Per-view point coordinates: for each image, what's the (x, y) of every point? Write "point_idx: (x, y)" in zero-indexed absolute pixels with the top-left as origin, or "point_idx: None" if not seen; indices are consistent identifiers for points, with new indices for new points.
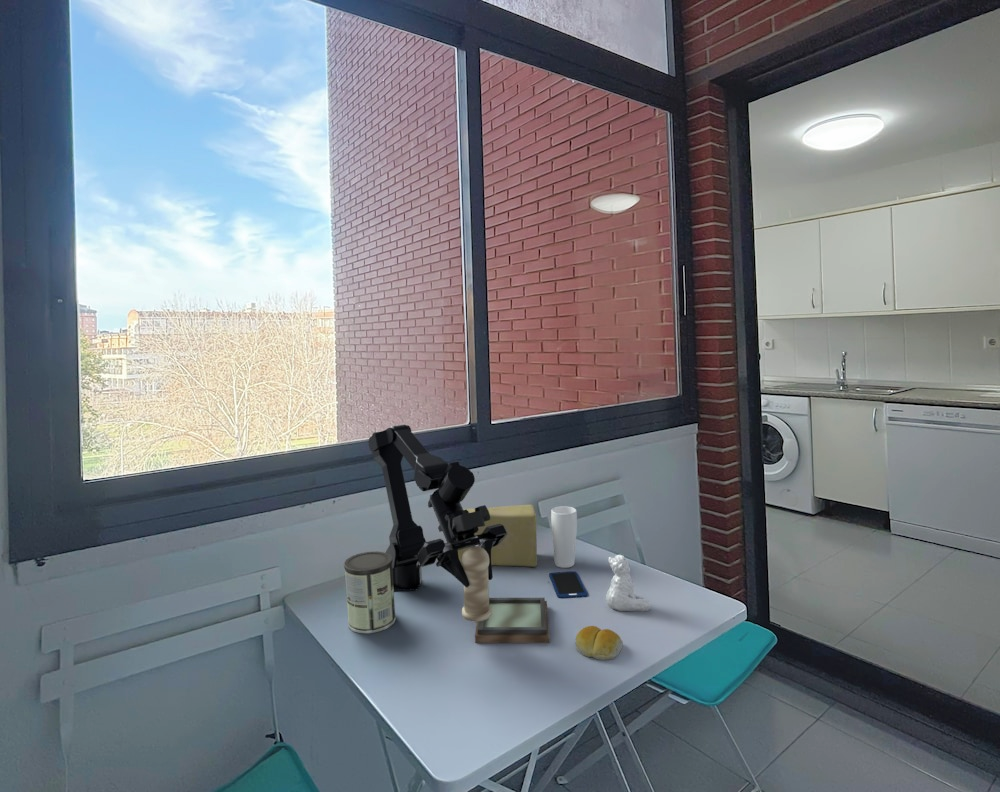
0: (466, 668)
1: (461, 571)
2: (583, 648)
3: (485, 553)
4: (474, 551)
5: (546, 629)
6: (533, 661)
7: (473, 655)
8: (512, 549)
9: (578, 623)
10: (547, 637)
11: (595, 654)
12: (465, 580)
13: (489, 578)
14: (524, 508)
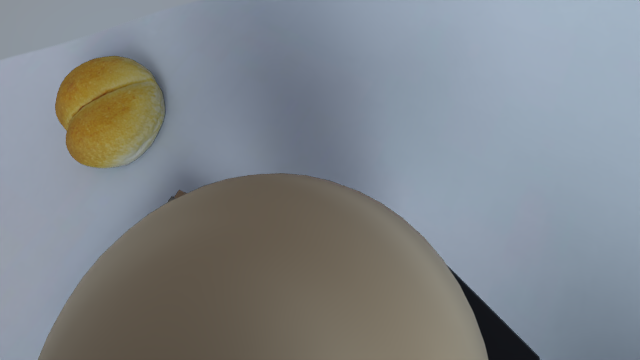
0: (457, 196)
1: (497, 338)
2: (155, 96)
3: (115, 242)
4: (271, 290)
5: (171, 197)
6: (276, 139)
7: None
8: None
9: (70, 240)
10: (186, 193)
11: (149, 74)
12: (455, 276)
13: None
14: None
